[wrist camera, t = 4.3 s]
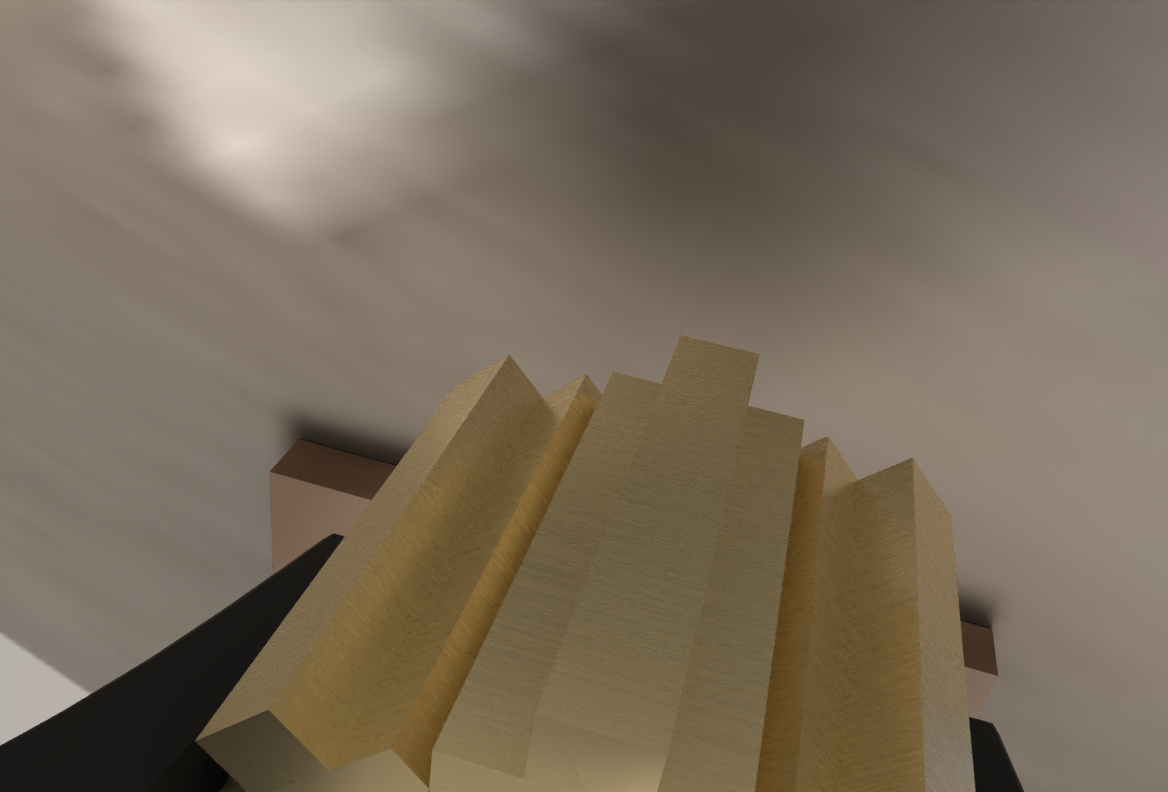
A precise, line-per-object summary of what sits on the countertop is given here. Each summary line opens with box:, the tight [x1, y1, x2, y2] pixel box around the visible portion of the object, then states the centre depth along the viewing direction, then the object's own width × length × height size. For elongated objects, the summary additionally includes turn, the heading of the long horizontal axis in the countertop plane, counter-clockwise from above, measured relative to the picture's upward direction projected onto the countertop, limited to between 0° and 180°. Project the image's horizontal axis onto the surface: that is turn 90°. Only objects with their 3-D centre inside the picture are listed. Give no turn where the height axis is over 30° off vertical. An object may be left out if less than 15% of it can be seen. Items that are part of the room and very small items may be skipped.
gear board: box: [270, 439, 998, 719], centre depth 20 cm, size 14×8×5 cm, turn 82°
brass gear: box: [195, 335, 975, 792], centre depth 10 cm, size 6×7×5 cm
